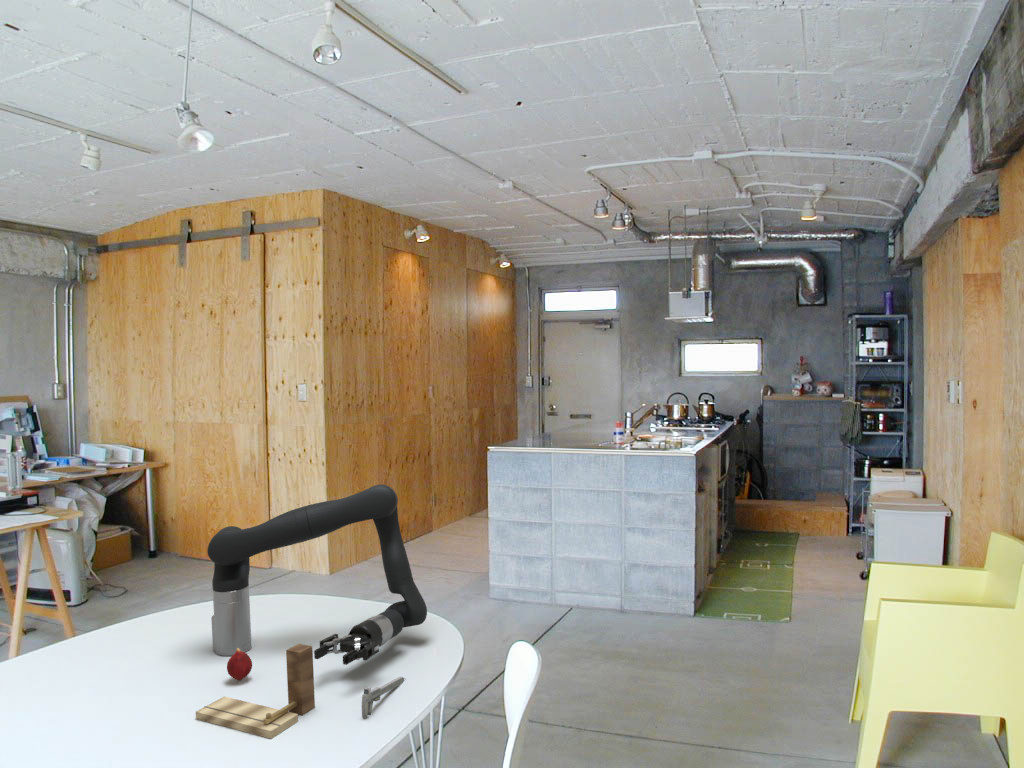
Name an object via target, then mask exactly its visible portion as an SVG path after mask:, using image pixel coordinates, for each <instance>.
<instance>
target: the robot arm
mask: <svg viewBox="0 0 1024 768" xmlns="http://www.w3.org/2000/svg"><path fill="white" fill-rule="evenodd" d="M398 499H399V498H398V496H397V493H396V491H395V490H394V489H393V488H392V487H391V486H389V485H386V484H382V483H381V484H376V485H372V486H371V487H369V488H367V489H365V490H362V491H359V492H357V493H354V494H352V495H349V496H346V497H343V498H338V499H332V500H326V501H321V502H317V503H311V504H308V505H304V506H301V507H297V508H294V509H290V510H288V511H286V512H284V513H282V514H281V513H280V514H279V515H277V516H275V517H273V518H271V519H268V520H267V521H265V522H262V523H261V524H258V525H255V526H250V527H246V528H243V529H242V528H240V527H238V526H234V525H231V526H230V525H229V526H225V527H224V528H221V529H220V530H219V531H218V532H217V533H216V534H215V535H213V537H212V538H211V540H210V541H209V543H208V545H207V551H206V553H207V556H208V558H209V559H210V560H211V562H213V563H214V569H213V577H212V582H211V584H212V598H213V599H212V601H213V615H211V636H212V651H213V652H215V654H216V655H217V656H223V657H228V656H230V657H231V656H232V655H234V654H235V653H236V650H237V648H239V649H240V650H241V651H242V652H245V653H246V652H248V651H249V650H251V648H252V629H251V628H252V627H251V625H252V624H251V607H250V606H251V604H250V603H251V601H250V586H249V585H250V583H249V579H250V567H251V566H250V558H251V557H254V556H256V555H258V554H261V553H265V552H267V551H272V550H277V549H280V548H285V547H288V546H293V545H297V544H301V543H304V542H307V541H311V540H314V539H317V538H320V537H323V536H325V535H327V534H331V533H333V532H335V531H337V530H339V529H342V528H344V527H346V526H349V525H352V524H356V523H360V522H365V521H369V520H370V521H371V520H372V521H373V523H374V526H375V528H376V531H377V535H378V540H379V545H380V551H381V558H382V559H381V560H382V565H383V571H384V575H385V579H386V583H387V587H388V591H389V592H390V593H391V594H396V595H400V596H401V597H402V598H403V600H401V601H397V602H395V603H392V604H390V605H389V606H388V607H387V608H386V609H385V610H384V611H382V612H381V613H378V614H377V615H374V616H371V617H368V619H366V620H363V621H361V622H360V623H358V624H355V625H354V626H353V627H351V629H350V631H349V633H348V634H345V635H344V636H342V637H339V633H334V634H332V635H330V636H327V637H325V638H324V639H321V640H319V647H318V648H316V649H314V651H313V659H315V660H320V659H322V658H323V657H325V656H326V655H328V654H335V655H339V654H342V653H345V654H343V656H342V664H343V665H344V666H347V665H349V664H350V663H353V662H354V661H359V660H361V659H362V660H363V661H368V660H369V659H371V658H372V657H374V656H375V655H377V654H378V653H379V652H380V647H382V646H383V645H385V644H386V643H387V642H389V640H391V639H393V638H395V637H396V636H398V635H399V634H400V633H401V632H402V631H403V629H404V628H408V627H414V626H419V625H422V624H423V623H425V621H426V620H427V616H428V608H427V604H426V601H425V600H424V598H423V595H422V594H421V593H420V590H419V589H418V587H417V585H416V583H415V580H414V578H413V574H412V573H413V572H412V568H411V564H410V562H409V558H408V555H407V551H406V547H405V543H404V541H403V537H402V532H401V528H400V522H399V511H398V509H399V508H398V503H399V502H398V501H399V500H398ZM338 645H339V649H338Z"/></svg>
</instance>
